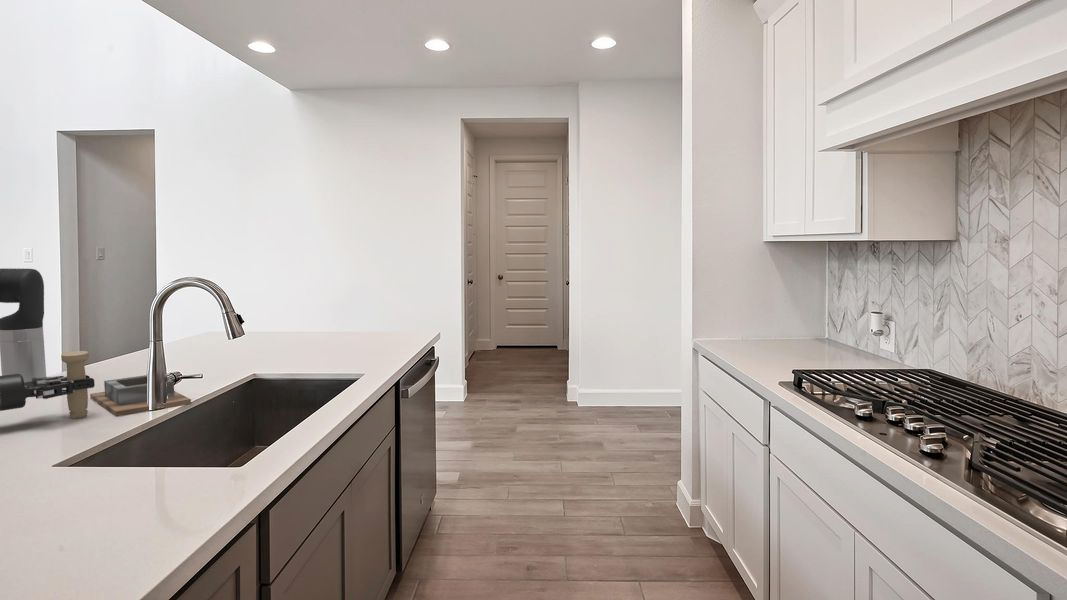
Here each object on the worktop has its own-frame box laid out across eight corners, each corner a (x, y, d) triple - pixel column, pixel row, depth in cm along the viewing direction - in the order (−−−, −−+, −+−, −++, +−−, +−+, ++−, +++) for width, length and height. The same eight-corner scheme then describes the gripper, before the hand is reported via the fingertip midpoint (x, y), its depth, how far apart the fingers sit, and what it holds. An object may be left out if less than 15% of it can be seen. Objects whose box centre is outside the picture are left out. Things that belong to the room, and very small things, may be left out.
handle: (63, 421, 137) (59, 356, 135) (67, 414, 142) (64, 352, 141) (89, 418, 139) (86, 354, 138) (93, 412, 145) (89, 350, 143)
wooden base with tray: (90, 398, 157) (89, 378, 157) (159, 387, 169) (158, 369, 169) (116, 416, 141) (115, 394, 141) (190, 403, 153) (190, 383, 153)
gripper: (-2, 382, 124) (98, 369, 137) (-12, 372, 134) (83, 361, 147) (1, 417, 125) (100, 402, 138) (-9, 405, 135) (85, 391, 147)
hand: (91, 381), depth 142 cm, fingers closed on handle, 3 cm apart
